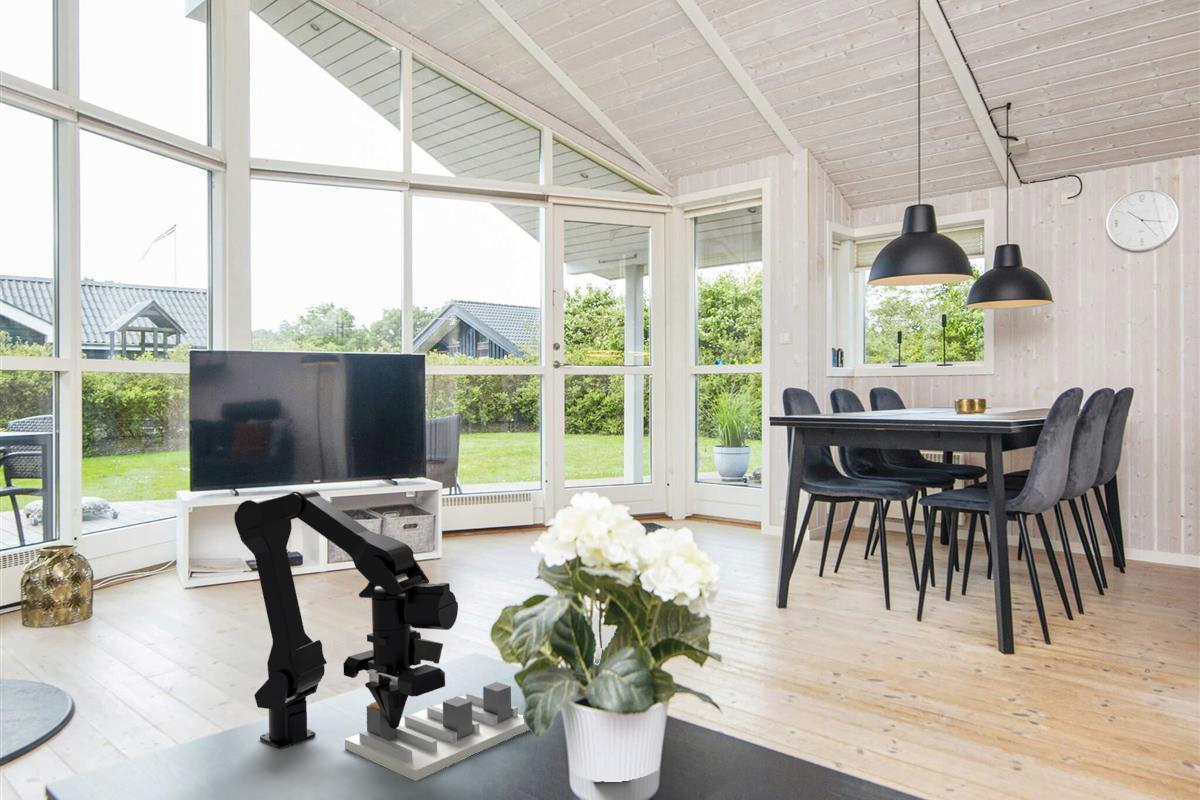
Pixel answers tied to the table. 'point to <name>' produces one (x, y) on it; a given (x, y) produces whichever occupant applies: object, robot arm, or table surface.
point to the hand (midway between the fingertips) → (394, 727)
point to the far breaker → (497, 700)
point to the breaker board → (435, 740)
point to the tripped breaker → (378, 723)
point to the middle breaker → (458, 716)
